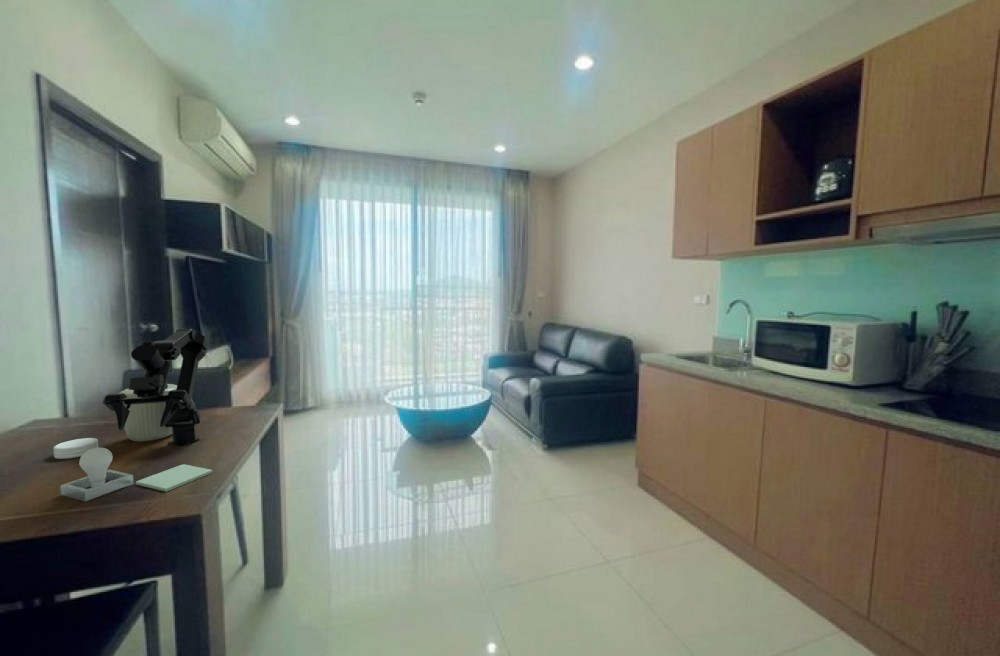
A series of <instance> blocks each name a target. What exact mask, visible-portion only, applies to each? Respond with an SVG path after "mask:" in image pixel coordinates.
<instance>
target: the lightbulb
mask: <svg viewBox="0 0 1000 656" xmlns="http://www.w3.org/2000/svg"><path fill="white" fill-rule="evenodd" d="M113 459H114V458H113V453H112V452H111V451H110V449H107V448H106V447H101V446H98V448H93V449H90V450H88V451H86V452H85V453H84V454H83V455H82V456H80V458H79V462H78V464H79V467H80V468H81V469H82V470H83V471H84V472H85V474H86V475H87V477H89V481H90V482H91V486H90V488H92V487H95V486H98V485H101V484H104V483H106V481H105V478H106V471H107V470H109V467H110V465H111V463H112V461H113Z"/></svg>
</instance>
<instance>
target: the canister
mask: <svg viewBox="0 0 1000 656" xmlns="http://www.w3.org/2000/svg"><path fill="white" fill-rule="evenodd" d="M167 385H168V387H167V389H165V391H164V395H168V393H169V391H172V390H176V389H177V384H173V383H167ZM133 391H134V390H129V388H126V389H124V390H121V391H120V392H119V393H117V394H120V393H124V394H125V395H126V396H127V397H128V398H131V397H137V395H135V394H134V393H133ZM164 395H163V396H164ZM165 406H166V402H160V403H144V404H131V406H130V408H129V409H128V410H129V411H130V413H129V415H128V418H127V421H126V423H125V426H124V428H123V429H124V430H125V434H126V436H127V438H128V439H129V440H130V441H132V442H149V441H156V440H159V439H160V440H161V439H163V438H164V439H165V438H167V437H169V436H171V435H172V427H168V428H166V427H165V425H164V426H163V427H161V426H160V422H161V419H162V416H163V412H164V410H165Z"/></svg>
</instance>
